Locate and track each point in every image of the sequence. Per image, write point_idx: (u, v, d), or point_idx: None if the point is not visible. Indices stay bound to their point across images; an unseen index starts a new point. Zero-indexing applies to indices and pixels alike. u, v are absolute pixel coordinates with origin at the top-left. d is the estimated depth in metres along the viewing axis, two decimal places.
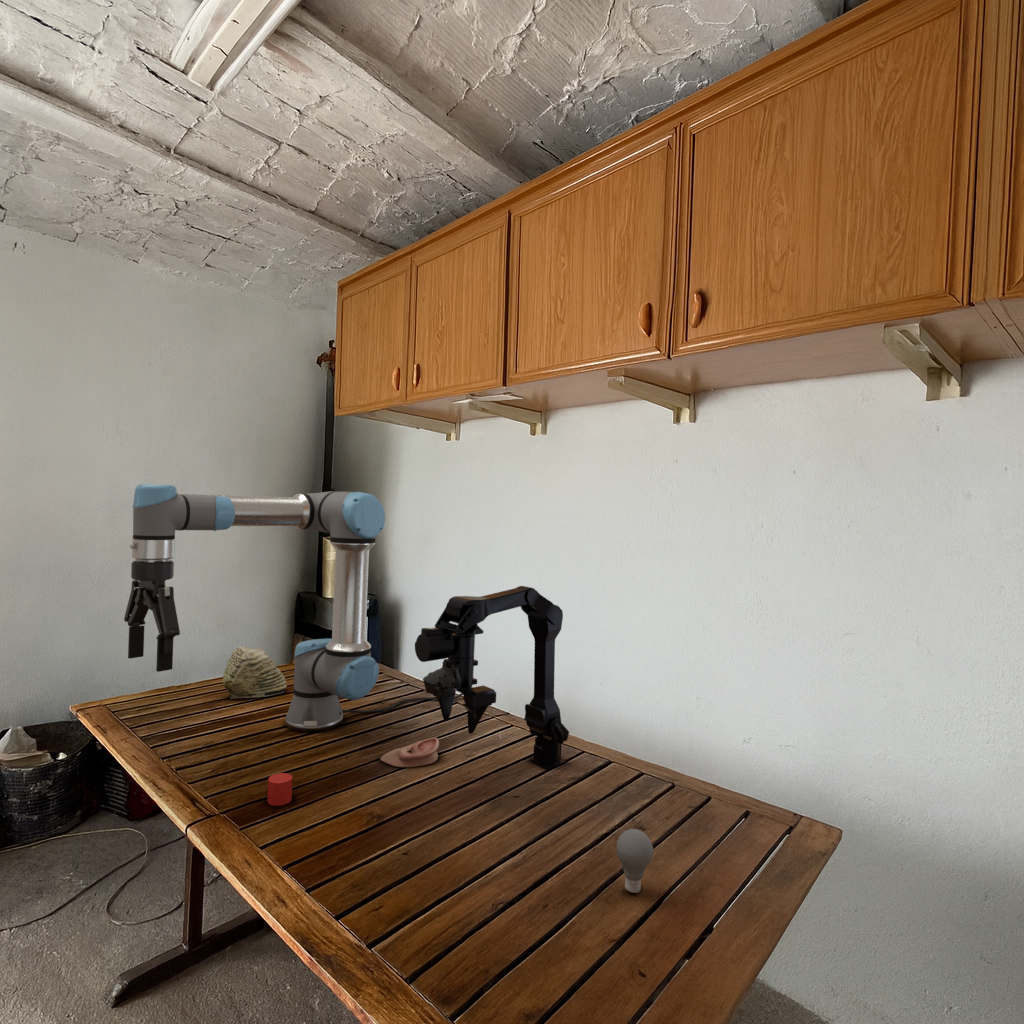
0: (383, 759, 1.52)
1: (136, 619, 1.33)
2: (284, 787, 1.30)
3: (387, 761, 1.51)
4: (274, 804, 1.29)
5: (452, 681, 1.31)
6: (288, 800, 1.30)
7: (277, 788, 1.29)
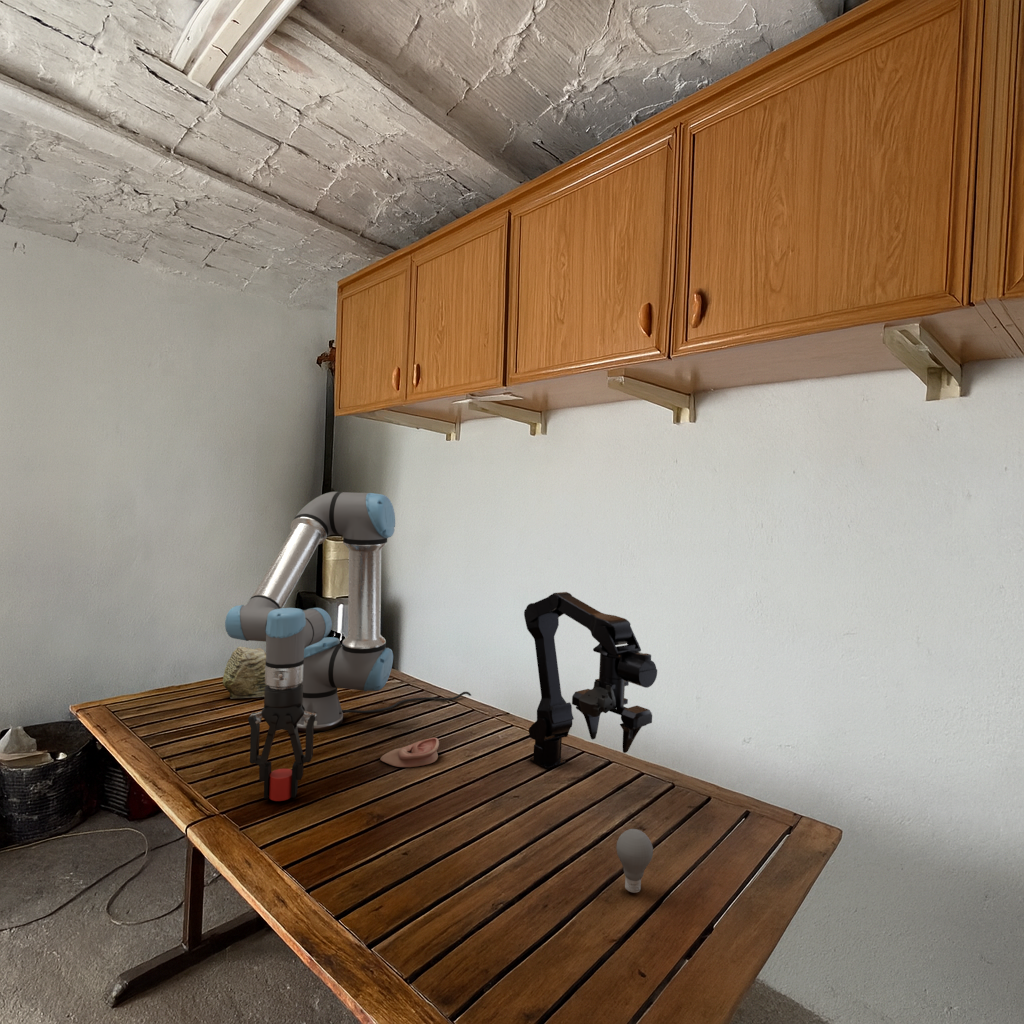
0: (383, 759, 1.52)
1: (268, 754, 1.31)
2: (285, 783, 1.30)
3: (387, 761, 1.51)
4: (275, 799, 1.30)
5: (611, 702, 1.34)
6: (289, 795, 1.31)
7: (278, 784, 1.30)
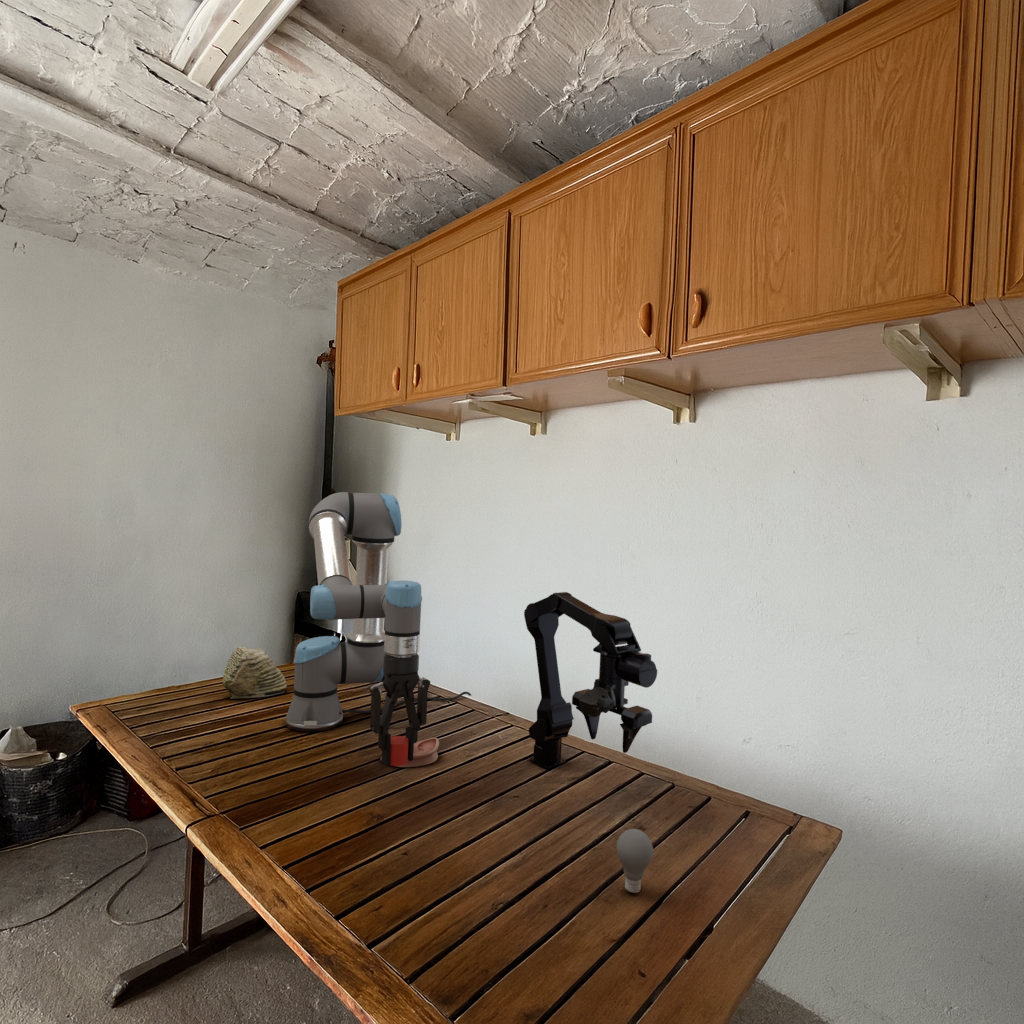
0: None
1: None
2: (406, 747, 1.36)
3: None
4: (398, 764, 1.35)
5: (611, 702, 1.34)
6: (407, 759, 1.37)
7: (401, 749, 1.35)
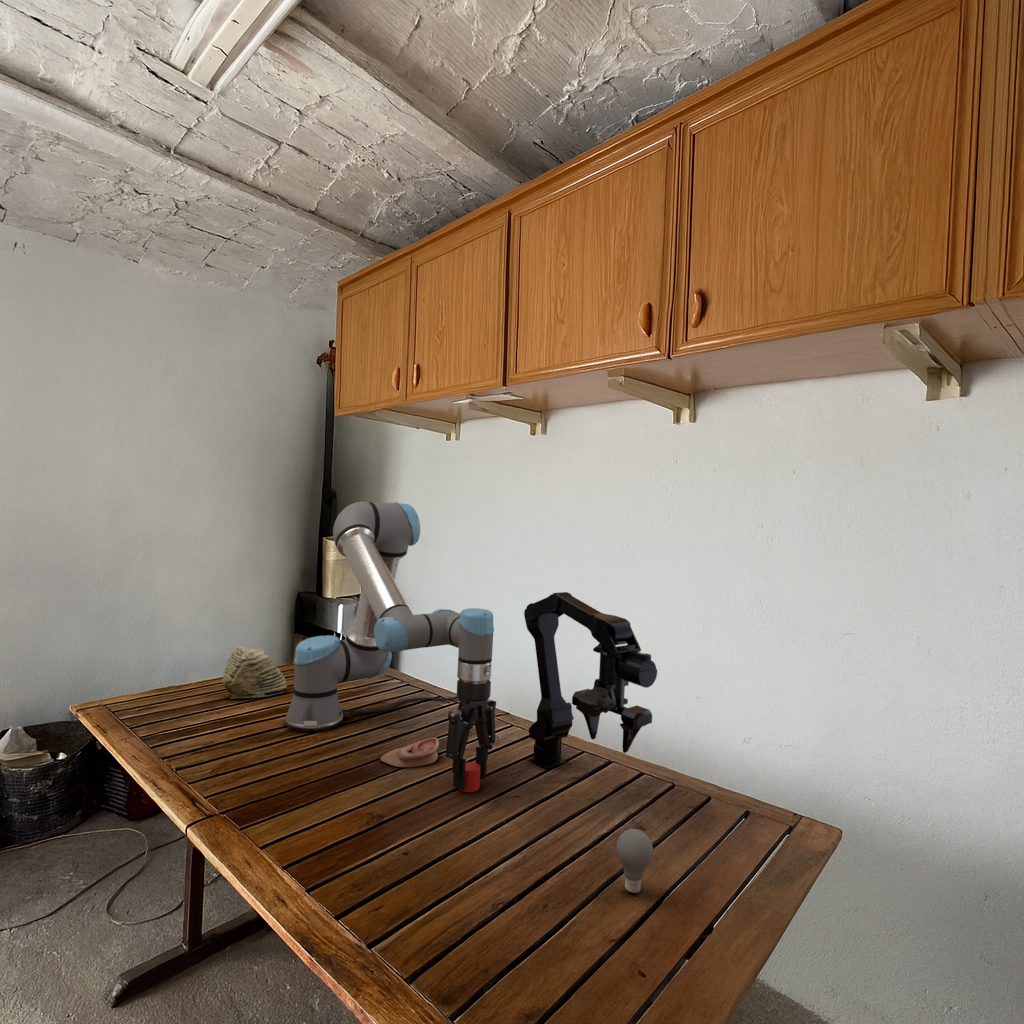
0: (383, 759, 1.52)
1: None
2: (479, 772, 1.41)
3: (387, 761, 1.51)
4: (475, 790, 1.39)
5: (611, 702, 1.34)
6: None
7: (477, 774, 1.40)
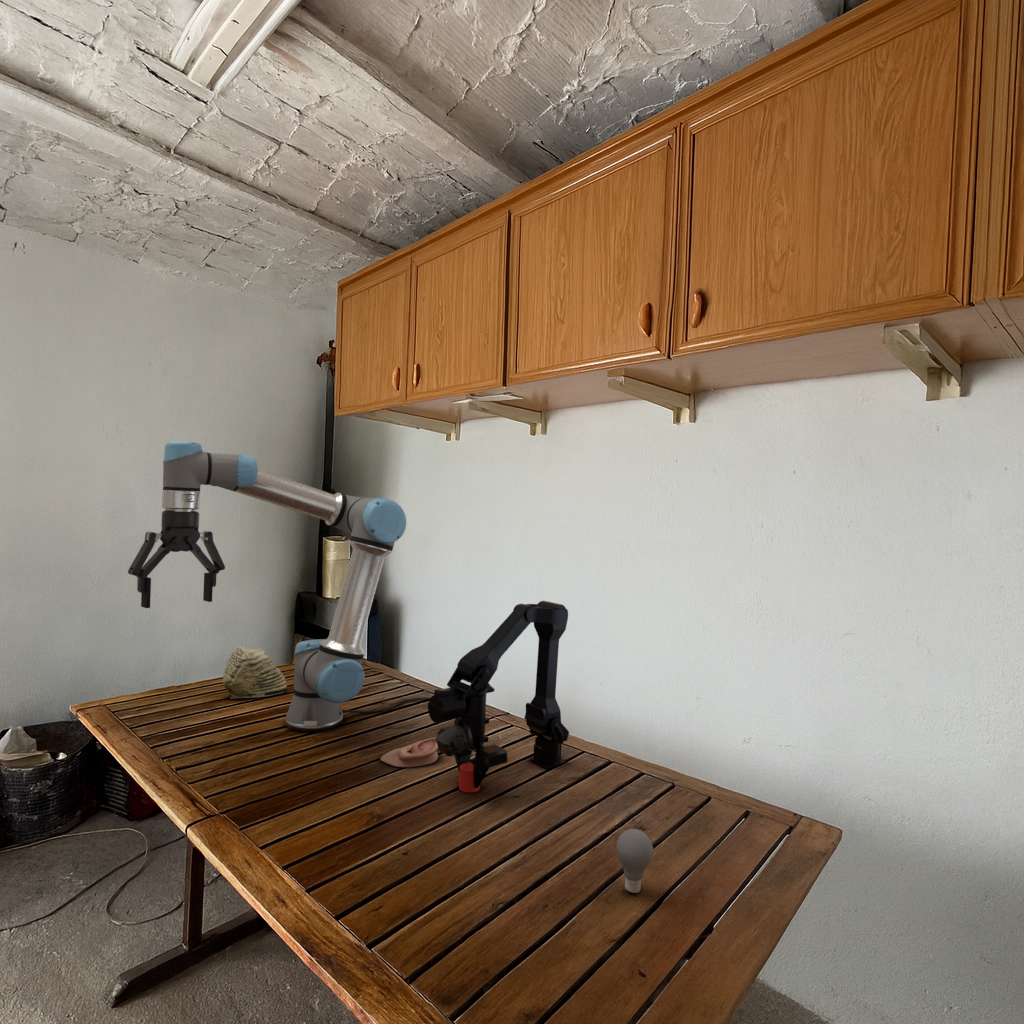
0: (383, 759, 1.52)
1: None
2: None
3: (387, 761, 1.51)
4: (475, 790, 1.39)
5: (464, 741, 1.34)
6: None
7: None
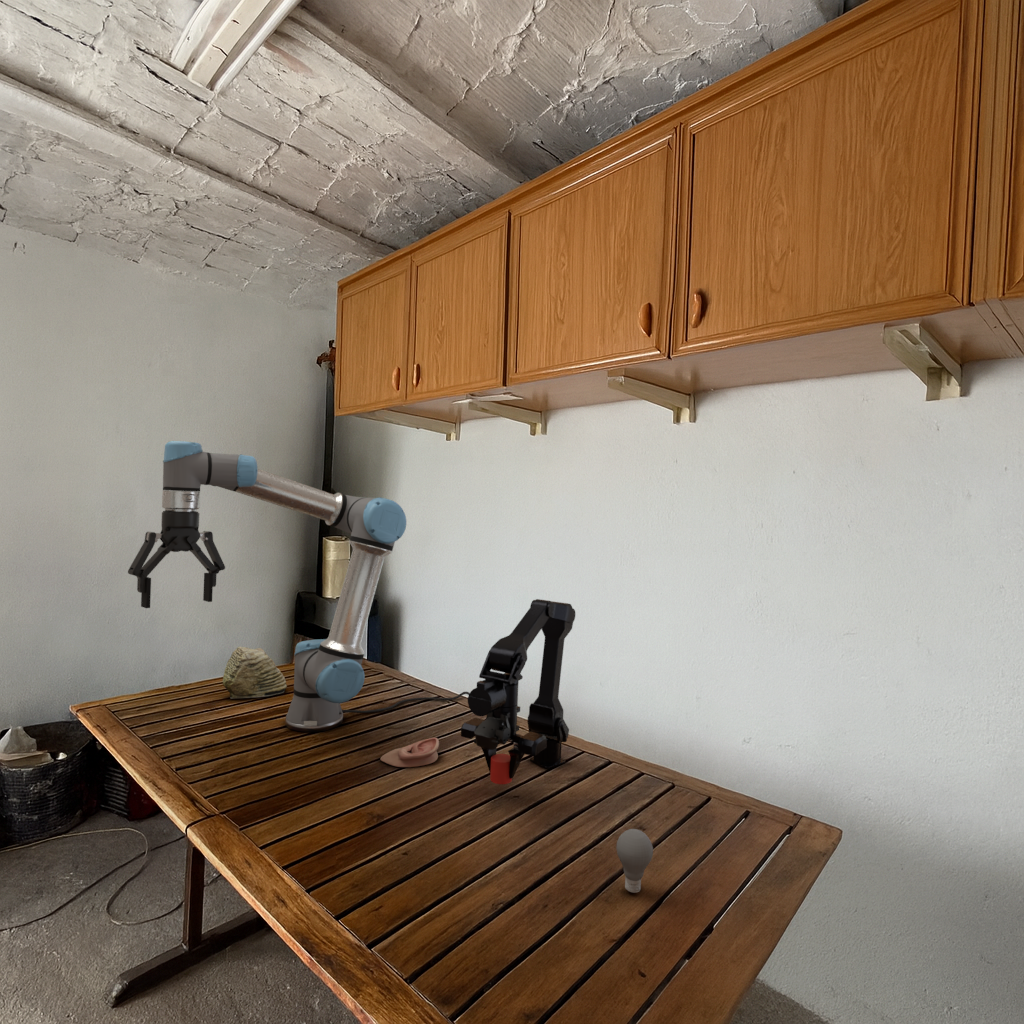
0: (383, 759, 1.52)
1: None
2: None
3: (387, 761, 1.51)
4: (510, 781, 1.36)
5: (508, 732, 1.30)
6: None
7: None
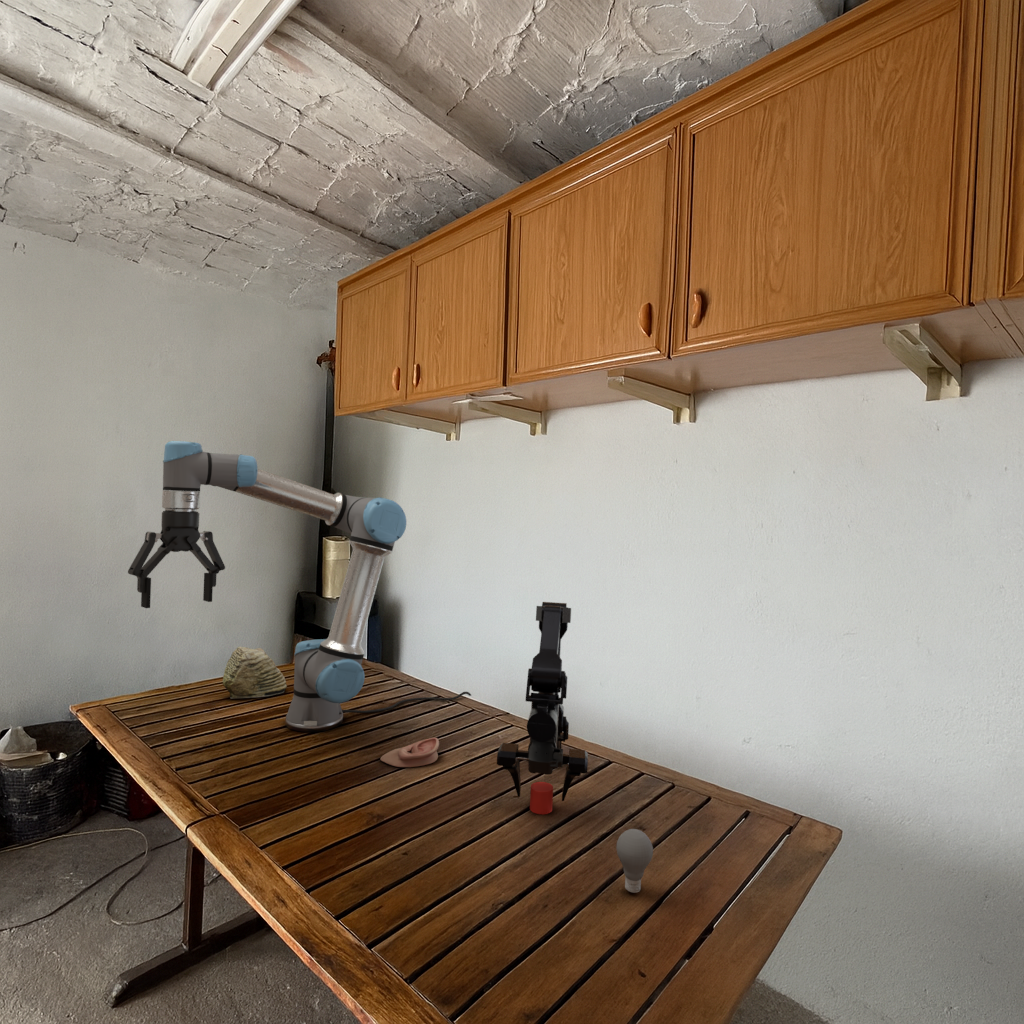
0: (383, 759, 1.52)
1: None
2: None
3: (387, 761, 1.51)
4: None
5: None
6: None
7: None
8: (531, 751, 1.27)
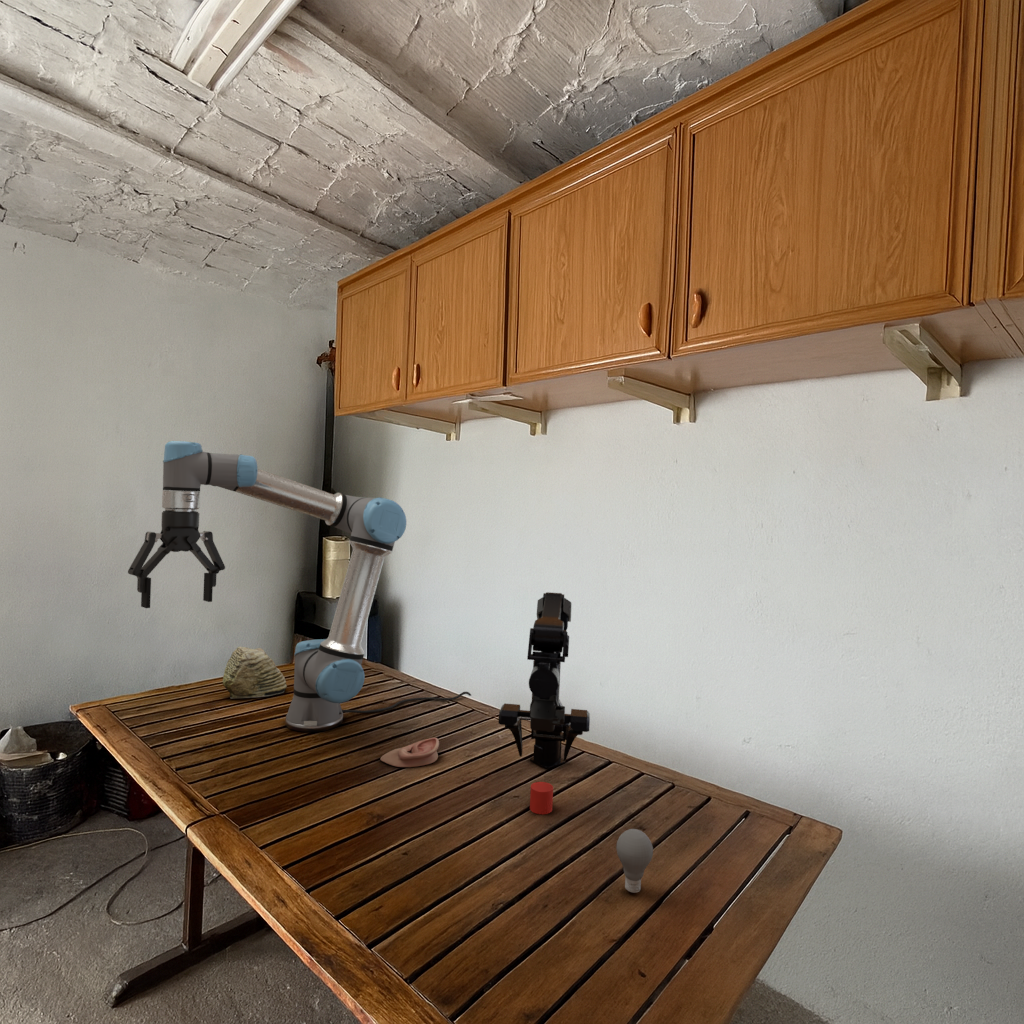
0: (383, 759, 1.52)
1: None
2: None
3: (387, 761, 1.51)
4: None
5: None
6: None
7: None
8: (533, 709, 1.26)
